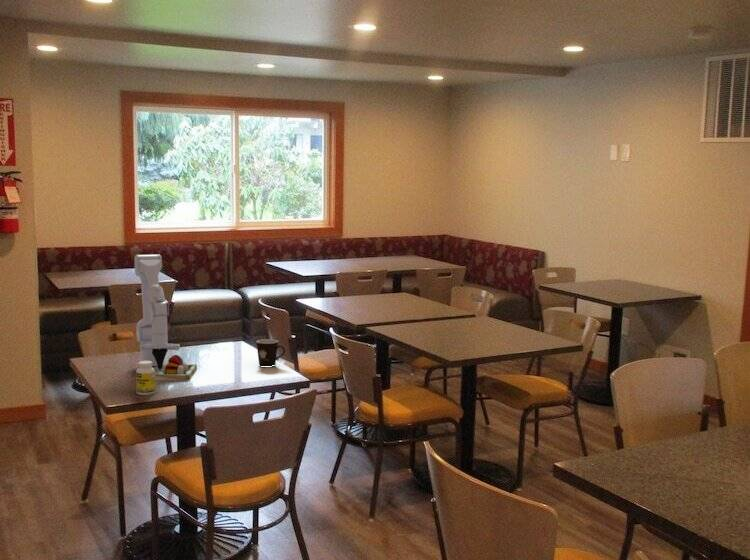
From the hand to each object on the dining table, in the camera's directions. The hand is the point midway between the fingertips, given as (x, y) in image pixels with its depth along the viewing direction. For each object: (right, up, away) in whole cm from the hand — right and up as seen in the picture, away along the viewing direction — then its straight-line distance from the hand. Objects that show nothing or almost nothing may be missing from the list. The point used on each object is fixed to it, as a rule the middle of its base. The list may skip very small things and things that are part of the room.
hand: (160, 368), depth 296 cm
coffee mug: (+39, -1, +17) cm, 43 cm away
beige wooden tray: (+4, -2, +1) cm, 5 cm away
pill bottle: (+2, -6, -25) cm, 26 cm away
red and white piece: (+5, -3, +2) cm, 6 cm away
